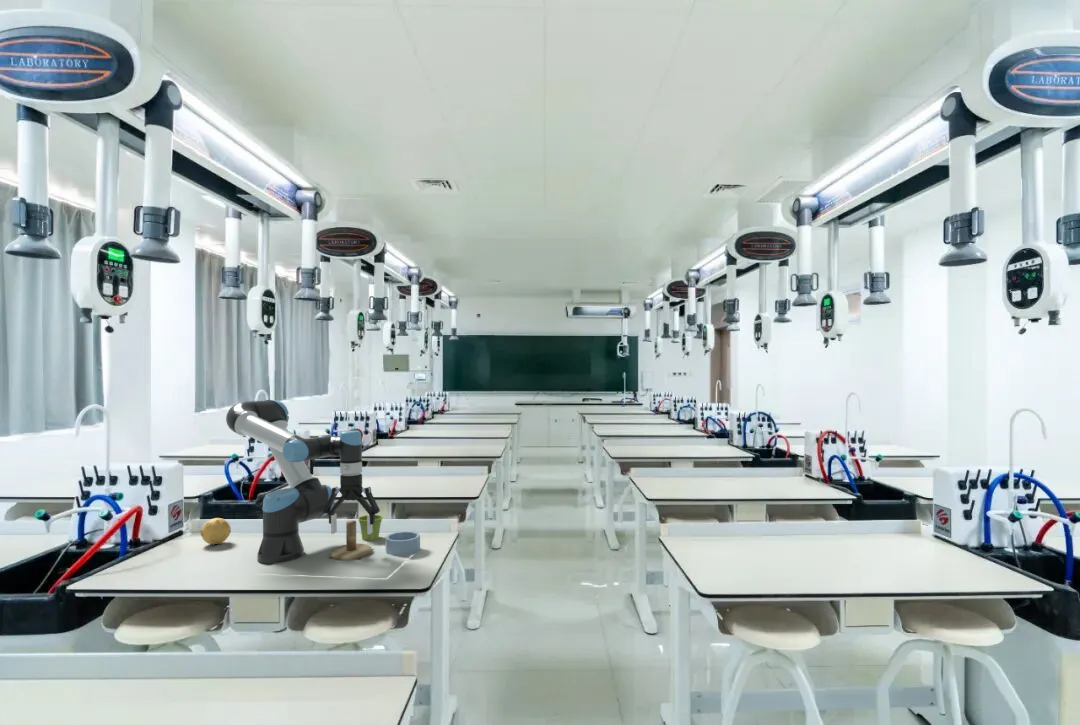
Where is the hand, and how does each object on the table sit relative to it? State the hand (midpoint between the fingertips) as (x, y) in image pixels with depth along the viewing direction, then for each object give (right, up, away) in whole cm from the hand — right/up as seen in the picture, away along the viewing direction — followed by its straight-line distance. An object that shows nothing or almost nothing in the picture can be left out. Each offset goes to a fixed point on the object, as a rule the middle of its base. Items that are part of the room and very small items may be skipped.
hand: (351, 533), depth 207 cm
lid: (0, -7, 0) cm, 7 cm away
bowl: (+17, -8, +4) cm, 19 cm away
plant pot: (+1, -8, +19) cm, 21 cm away
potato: (-57, -9, +14) cm, 59 cm away
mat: (0, -8, 0) cm, 8 cm away
